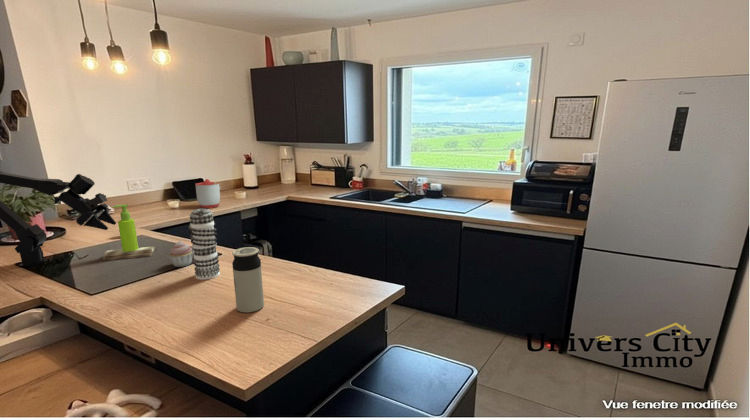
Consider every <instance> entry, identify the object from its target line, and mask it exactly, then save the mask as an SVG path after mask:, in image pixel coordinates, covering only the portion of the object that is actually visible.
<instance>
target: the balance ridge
mask: <svg viewBox="0 0 750 420" xmlns="http://www.w3.org/2000/svg"><path fill="white" fill-rule="evenodd" d="M155 250H157V247H155V246H145V247H138V249H137V250H135V251H130V252H124V251H123V250H122V248H121V249H110V250H109V249H108V250H106V251H105V252H104V253H103V254H104V256H103V257H102V258H101V261H102V262H105V261H115V260H116V259H117V260H126V258H128V259H135V258H137V257H139V258H148V257H152V255H153V254H154V253H155V252H156V251H155Z"/></svg>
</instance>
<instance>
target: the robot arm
mask: <svg viewBox="0 0 750 420" xmlns="http://www.w3.org/2000/svg"><path fill="white" fill-rule="evenodd" d="M0 184H4V185H10V186H16V187H21V188H22V187H23V188H28V189H32V190H35V191H37V192H39V193H42V194H45V195H49V196H54V197H53V199H54V204H55V205H57V204H59V203H63V204H65V205H66V206H67V207H69V208H71V211H72V212H73V213H75V212H77V213H78V214H79V216H78V217H77V218H76V220H75V223H76V224H77V225H79V226H81V227H82V226H84V227H90V228H94V229H99V230H104V231H108V229H109V227H108V226H107V225H106V224H105V223H107V224H111V225H114V226H115V225H117V222H116V221H115V219H114V217H112V216H111V215H110V213H109V205H108V204H106V203H105V202H107V201H108V199H107V195H105V194H104V193H100V192H98V193H96V194H95V196H94V197H92V198H90V199H89V198H84V197H82V196H81V195H86V194H87V193H88V192H89V191H90V190H91V189H92V188H93V186H95V185H96V184H95V181H94V180H92V179H91V178H90V177H87V176H85V175H82V174H81V173H78V174H76V175H75V176H74V178H73V179H72V180H71V181H63V180H62V179H59V178H36V177H29V176H25V175H20V174H13V173H8V172H3V171H2V170H0ZM65 190H66V191H65ZM57 194H59V195H57ZM55 195H57V196H55ZM0 220H1V221H2V222H3V223H4V224H6V226H7V227H9V229H11V230H12V231H14V233H15V236H16V238H17V240H18V242H19V243H18V244H17V245H16V246H15V248H14V250H15V251H16V253H17V254H19V256H20V260H21V263H20V264H18V266H19V267H35V266H37V265H41V264H44V263H46V262H48V259H45V256H44V252H43V250H42V247H43V246H44V243H45V241H46V240H47V238H48V237H47V233H46V230H44V229H43V228H42V227H40V225H39V224H33V225H31V224H29V223H27V222H26V221H25V220H24V219H22V218H21V217H20V215H18V214H17V213H16V212H14V211H13V210H12V209H11V208H10V207H9V206H7V204H5V203H4V202H3V201H2V200H0Z"/></svg>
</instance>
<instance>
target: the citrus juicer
mask: <svg viewBox="0 0 750 420" xmlns="http://www.w3.org/2000/svg"><path fill="white" fill-rule="evenodd" d="M194 184H195V193H196V199H197V202H198V205H199V207H200V209H211V208H217V207H219V205H220V202H221V191H220V190H221V189H222V187H221V186H220V182H217V183H215V182H214V181H210V180H209V179H208V178H206V179H205V180H204V181H202V182H198V183H197V182H196V183H194Z"/></svg>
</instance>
